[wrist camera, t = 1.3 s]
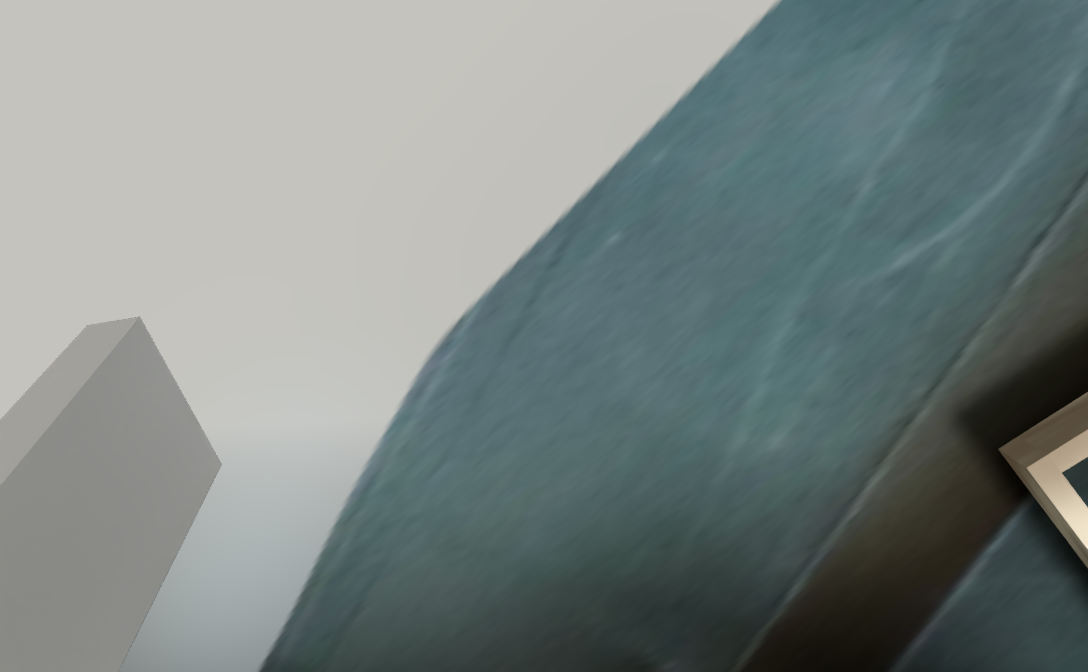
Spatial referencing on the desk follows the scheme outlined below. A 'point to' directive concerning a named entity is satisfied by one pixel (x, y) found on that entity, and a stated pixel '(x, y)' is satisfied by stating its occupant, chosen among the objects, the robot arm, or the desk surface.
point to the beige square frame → (1056, 468)
